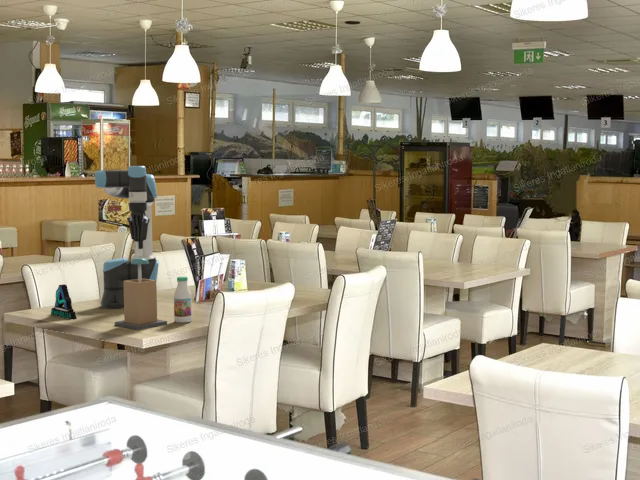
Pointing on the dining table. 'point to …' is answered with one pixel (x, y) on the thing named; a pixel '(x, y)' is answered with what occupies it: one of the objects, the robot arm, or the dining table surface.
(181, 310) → the milk bottle
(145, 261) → the pump plunger
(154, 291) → the brown pedestal box
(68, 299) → the decorative sign
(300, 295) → the dining table surface
